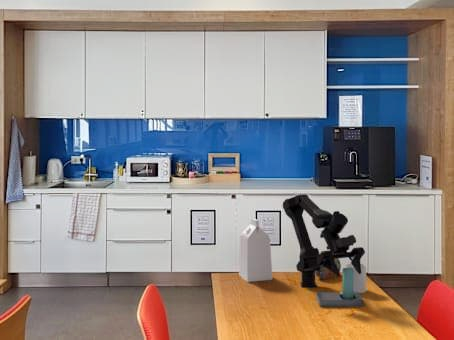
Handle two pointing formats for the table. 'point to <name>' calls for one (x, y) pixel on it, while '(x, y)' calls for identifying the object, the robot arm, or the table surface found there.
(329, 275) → the tin
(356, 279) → the mug
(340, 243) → the robot arm
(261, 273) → the milk
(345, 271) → the peg
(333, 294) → the flange plate
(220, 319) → the table surface
